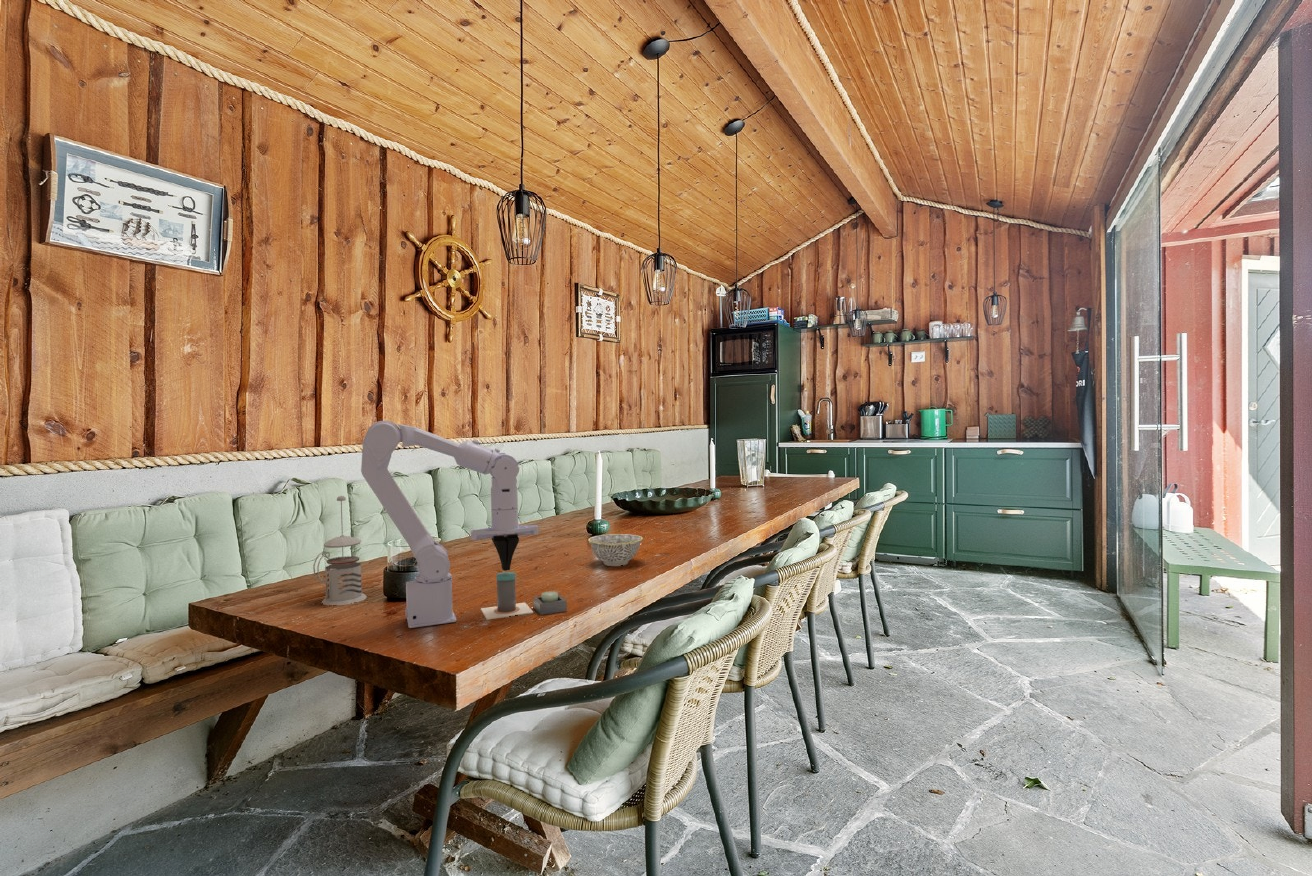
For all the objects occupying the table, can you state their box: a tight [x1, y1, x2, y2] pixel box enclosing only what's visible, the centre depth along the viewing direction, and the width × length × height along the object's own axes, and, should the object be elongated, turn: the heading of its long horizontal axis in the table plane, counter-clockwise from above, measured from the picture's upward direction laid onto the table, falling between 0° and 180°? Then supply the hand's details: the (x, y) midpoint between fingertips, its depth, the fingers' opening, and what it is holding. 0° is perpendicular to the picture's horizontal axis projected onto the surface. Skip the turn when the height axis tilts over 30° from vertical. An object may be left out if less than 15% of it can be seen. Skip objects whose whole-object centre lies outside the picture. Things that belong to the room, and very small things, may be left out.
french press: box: [312, 495, 367, 606], centre depth 152 cm, size 10×12×25 cm
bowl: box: [587, 533, 644, 567], centre depth 187 cm, size 16×16×8 cm
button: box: [541, 590, 559, 603], centre depth 143 cm, size 4×4×2 cm
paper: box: [480, 602, 534, 621], centre depth 142 cm, size 10×8×1 cm
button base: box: [532, 593, 568, 616], centre depth 143 cm, size 6×6×2 cm
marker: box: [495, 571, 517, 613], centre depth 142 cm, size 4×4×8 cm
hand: (505, 569), depth 142 cm, fingers closed
